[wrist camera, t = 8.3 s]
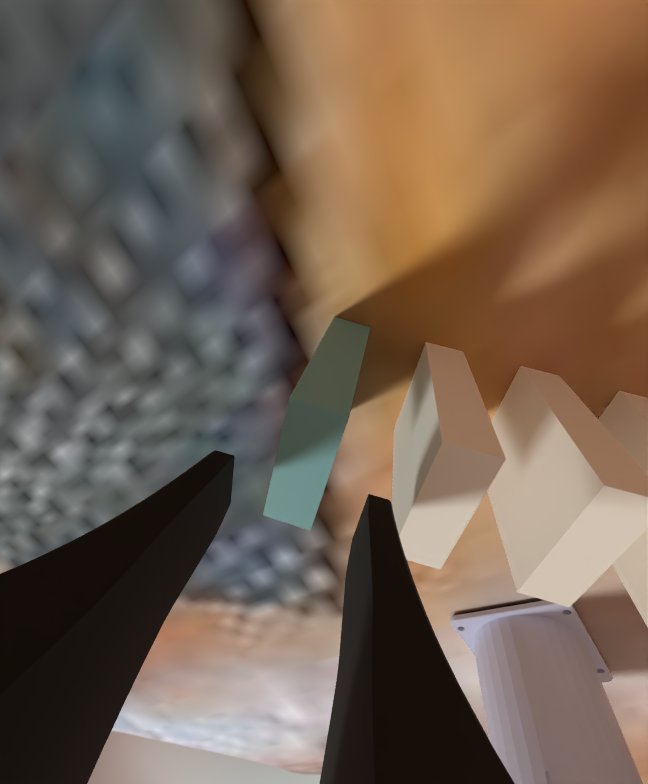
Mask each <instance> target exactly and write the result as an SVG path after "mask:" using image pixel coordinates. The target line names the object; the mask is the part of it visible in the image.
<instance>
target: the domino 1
mask: <svg viewBox="0 0 648 784" xmlns="http://www.w3.org/2000/svg"><path fill="white" fill-rule="evenodd" d="M369 331H370V327H367V326H364V325H360V324H357V323H354V322H350V321H347V320H344V319H340V318H337V317H334V319H333V320H332V322H331V324H330V326H329V328H328V329H327V331H326V333H325V335H324V337H323V338H322V340H321V342H320V344H319V346H318V347H317V349H316V351H315V353H314V355H313V356H312V358H311V360H310V362H309V364H308V365H307V367H306V369H305V371H304V373H303V374H302V376H301V378H300V380H299V382H298V383H297V385H296V387H295V389H294V391H293V392H292V394H291V396H290V398H289V403H288V407H287V412H286V416H285V420H284V425H283V429H282V434H281V438H280V443H279V447H278V451H277V456H276V460H275V465H274V469H273V474H272V478H271V482H270V487H269V491H268V496H267V500H266V504H265V509H264V513H263V515H264V516H267V517H270V518H273V519H276V520H279V521H282V522H285V523H288V524H291V525H294V526H297V527H301V528H304V529H307V530H311V527H312V524H313V521H314V518H315V515H316V512H317V509H318V507H319V504H320V501H321V498H322V495H323V492H324V489H325V486H326V483H327V480H328V477H329V474H330V471H331V468H332V465H333V462H334V459H335V456H336V454H337V451H338V448H339V445H340V442H341V439H342V436H343V433H344V430H345V427H346V424H347V421H348V418H349V415H350V411H351V407H352V402H353V398H354V394H355V390H356V386H357V381H358V377H359V373H360V369H361V365H362V361H363V356H364V352H365V348H366V344H367V340H368V336H369Z"/></svg>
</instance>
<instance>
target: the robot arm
mask: <svg viewBox="0 0 648 784" xmlns="http://www.w3.org/2000/svg"><path fill="white" fill-rule="evenodd" d="M233 468H234V456H233V455H230V454H226V453H223V452H219V451H216V450H215V451H213V452H211V453H210V454H209V455H207V456H206V457H205V458H203V459H202V460H201V461H199V462H198V463H197V464H195V465H194V466H193V467H191V468H190V469H188V470H187V471H186V472H184V473H183V474H181V475H180V476H179V477H177V478H176V479H174V480H173V481H171V482H170V483H169V484H167V485H166V486H164V487H163V488H161V489H160V490H158V491H157V492H155V493H154V494H152V495H151V496H149V497H148V498H146V499H145V500H143V501H141V502H140V503H138V504H136V505H135V506H133V507H132V508H130V509H128V510H127V511H125V512H124V513H122V514H120V515H119V516H117V517H115V518H113V519H112V520H110V521H108V522H106V523H105V524H103V525H101V526H99V527H98V528H96V529H94V530H92V531H90V532H88V533H86V534H84V535H83V536H81V537H79V538H77V539H75V540H73V541H71V542H69V543H67V544H65V545H63V546H61V547H59V548H57V549H55V550H52V551H50V552H48V553H46V554H44V555H42V556H40V557H38V558H36V559H34V560H31V561H29V562H27V563H25V564H22V565H20V566H18V567H16V568H13V569H11V570H8V571H6V572H4V573H1V574H0V784H87V783H88V780H89V778H90V776H91V774H92V772H93V769H94V767H95V765H96V763H97V760H98V758H99V756H100V754H101V751H102V749H103V747H104V745H105V743H106V741H107V739H108V736H109V734H110V732H111V730H112V728H113V726H114V724H115V721H116V719H117V717H118V715H119V713H120V711H121V708H122V706H123V704H124V702H125V700H126V698H127V696H128V694H129V692H130V690H131V688H132V685H133V683H134V681H135V679H136V677H137V675H138V673H139V671H140V669H141V667H142V665H143V663H144V661H145V659H146V657H147V655H148V653H149V651H150V649H151V647H152V645H153V643H154V641H155V639H156V637H157V635H158V633H159V631H160V628H161V626H162V624H163V623H164V621H165V619H166V617H167V615H168V614H169V612H170V610H171V608H172V606H173V605H174V603H175V601H176V600H177V598H178V597H179V595H180V593H181V592H182V590H183V588H184V587H185V585H186V583H187V582H188V580H189V578H190V577H191V575H192V574H193V572H194V570H195V569H196V567H197V565H198V564H199V562H200V560H201V559H202V557H203V555H204V554H205V552H206V550H207V549H208V547H209V546H210V544H211V542H212V541H213V539H214V537H215V535H216V534H217V531H218V529H219V527H220V525H221V523H222V521H223V519H224V517H225V514H226V512H227V510H228V508H229V506H230V503H231V492H232V480H233ZM450 621H451V625H452V627H453V628H454V629H455V630H456V632H457V633H458V634H459V636H460V637H461V638H462V640H463V641H464V642H465V644H466V645H467V646H468V648H469V649H470V650H471V651H472V653H473V654H474V655H475V657H476V663H477V669H478V675H479V681H480V688H481V694H482V700H483V706H484V713H485V719H486V725H487V731H488V737H487V735H486V733H485V731H484V730H483V728H482V726H481V724H480V722H479V720H478V719H477V717H476V715H475V713H474V711H473V710H472V708H471V706H470V704H469V702H468V700H467V699H466V697H465V695H464V693H463V691H462V689H461V687H460V686H459V684H458V682H457V680H456V678H455V675H454V673H453V671H452V669H451V667H450V665H449V663H448V661H447V659H446V657H445V655H444V653H443V651H442V649H441V646H440V644H439V642H438V640H437V638H436V636H435V633H434V631H433V629H432V626H431V624H430V622H429V619H428V617H427V614H426V612H425V610H424V607H423V604H422V602H421V599H420V597H419V594H418V592H417V589H416V586H415V583H414V581H413V578H412V575H411V572H410V569H409V566H408V563H407V560H406V557H405V554H404V551H403V547H402V544H401V540H400V537H399V533H398V530H397V526H396V522H395V518H394V513H393V508H392V504H391V502H390V500H388V499H384V498H381V497H377V496H374V495H370V494H368V497H367V500H366V503H365V506H364V508H363V511H362V514H361V517H360V520H359V522H358V525H357V528H356V531H355V533H354V536H353V539H352V544H351V550H350V555H349V560H348V566H347V572H346V581H345V593H344V606H343V618H342V631H341V643H340V656H339V666H338V674H337V682H336V688H335V694H334V701H333V707H332V713H331V719H330V725H329V731H328V737H327V743H326V749H325V755H324V761H323V767H322V773H321V779H320V784H643V783H642V780H641V778H640V775H639V773H638V770H637V768H636V765H635V763H634V761H633V758H632V756H631V753H630V751H629V748H628V746H627V744H626V741H625V739H624V736H623V734H622V731H621V729H620V726H619V724H618V722H617V719H616V717H615V714H614V712H613V709H612V707H611V705H610V702H609V700H608V697H607V695H606V692H605V690H604V687H603V685H602V683H601V682H609V681H611V680H612V679H613V677H612V675H611V673H610V671H609V669H608V667H607V665H606V664H605V662H604V660H603V658H602V657H601V655H600V653H599V651H598V649H597V648H596V646H595V644H594V642H593V641H592V639H591V637H590V635H589V633H588V632H587V630H586V628H585V626H584V625H583V623H582V621H581V619H580V618H579V616H578V614H577V612H576V610H575V609H574V607H573V605H571V606H570V607H566V606H563V605H559V604H556V603H553V602H549V601H546V600H543V601H537V602H531V603H525V604H519V605H513V606H508V607H502V608H496V609H490V610H484V611H478V612H472V613H466V614H460V615H454V616H452V617H451V618H450ZM488 738H489V739H488Z"/></svg>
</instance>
